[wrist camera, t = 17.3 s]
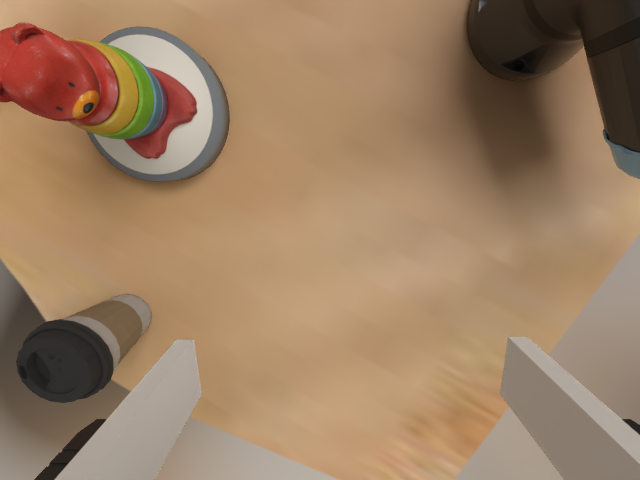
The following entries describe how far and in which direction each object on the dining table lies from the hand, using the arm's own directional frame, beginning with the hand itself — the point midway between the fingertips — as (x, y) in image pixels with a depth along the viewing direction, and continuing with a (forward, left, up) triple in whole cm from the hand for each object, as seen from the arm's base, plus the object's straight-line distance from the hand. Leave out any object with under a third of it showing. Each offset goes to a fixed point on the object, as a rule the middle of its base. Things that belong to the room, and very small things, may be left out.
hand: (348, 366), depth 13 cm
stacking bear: (+13, -26, -31) cm, 42 cm away
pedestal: (+13, -26, -35) cm, 45 cm away
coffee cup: (+38, -4, -35) cm, 52 cm away
